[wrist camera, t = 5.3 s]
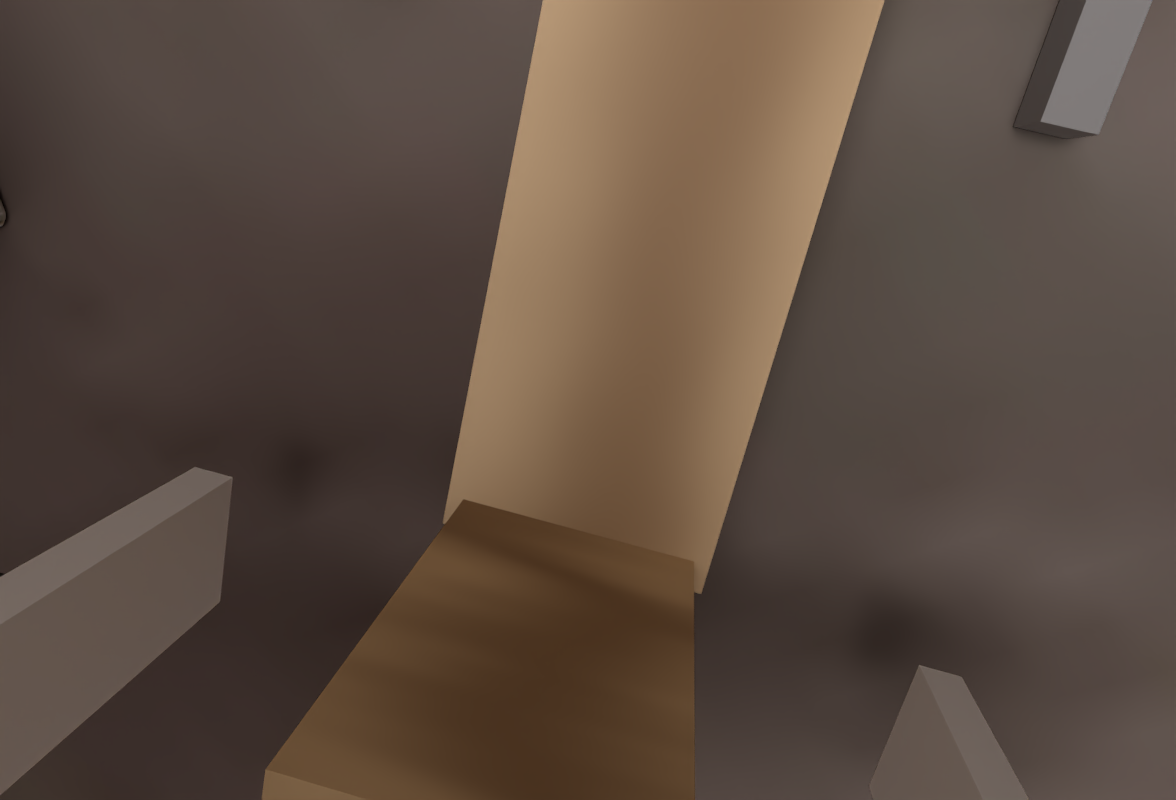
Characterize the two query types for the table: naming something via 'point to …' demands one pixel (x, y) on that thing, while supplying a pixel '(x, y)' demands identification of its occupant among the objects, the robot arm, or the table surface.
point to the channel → (1081, 66)
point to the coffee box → (2, 214)
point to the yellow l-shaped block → (600, 410)
